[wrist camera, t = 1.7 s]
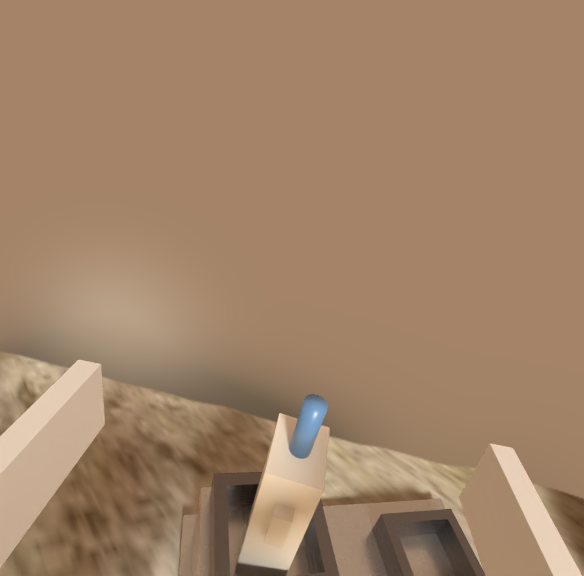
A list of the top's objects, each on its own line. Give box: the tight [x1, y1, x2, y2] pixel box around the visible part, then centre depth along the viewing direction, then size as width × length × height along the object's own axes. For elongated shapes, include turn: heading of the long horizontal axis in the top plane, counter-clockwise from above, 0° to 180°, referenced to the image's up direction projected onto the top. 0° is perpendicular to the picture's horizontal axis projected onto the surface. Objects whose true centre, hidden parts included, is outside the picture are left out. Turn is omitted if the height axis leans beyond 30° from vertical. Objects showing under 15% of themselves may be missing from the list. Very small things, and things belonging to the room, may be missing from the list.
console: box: [179, 472, 485, 576], centre depth 33 cm, size 30×14×12 cm, turn 100°
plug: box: [235, 394, 330, 576], centre depth 25 cm, size 4×5×16 cm, turn 171°
